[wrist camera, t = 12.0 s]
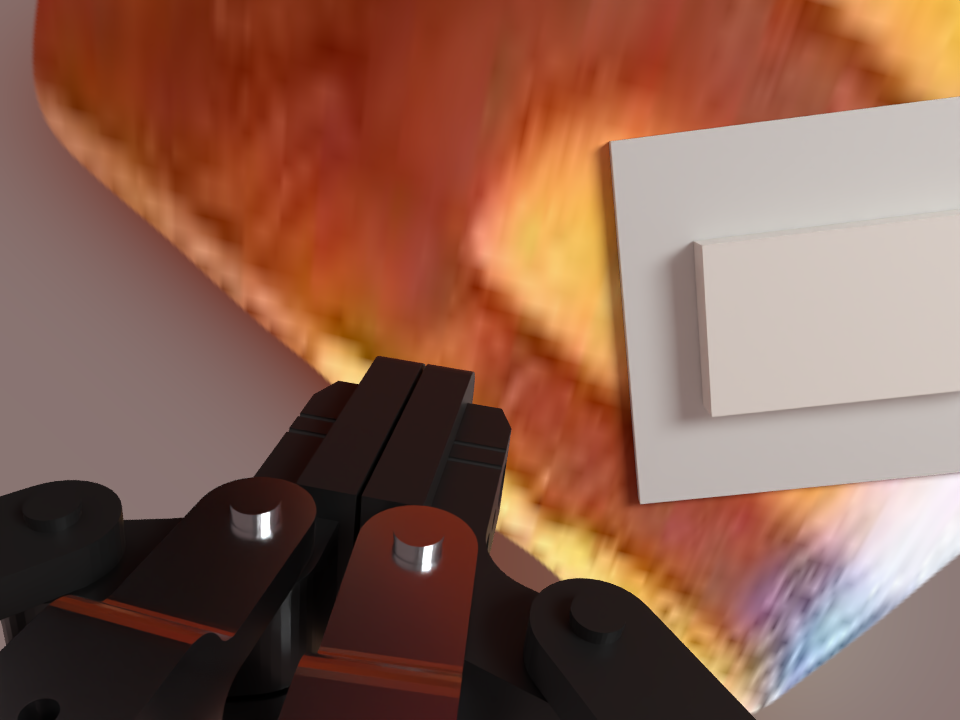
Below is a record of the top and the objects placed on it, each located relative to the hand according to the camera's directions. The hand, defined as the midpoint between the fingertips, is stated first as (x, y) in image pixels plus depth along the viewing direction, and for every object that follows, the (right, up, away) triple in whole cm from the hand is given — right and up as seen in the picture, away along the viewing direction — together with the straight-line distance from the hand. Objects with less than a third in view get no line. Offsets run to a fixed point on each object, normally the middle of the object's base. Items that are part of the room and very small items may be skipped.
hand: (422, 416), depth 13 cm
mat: (+18, +4, +31) cm, 36 cm away
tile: (+12, +2, +30) cm, 32 cm away
